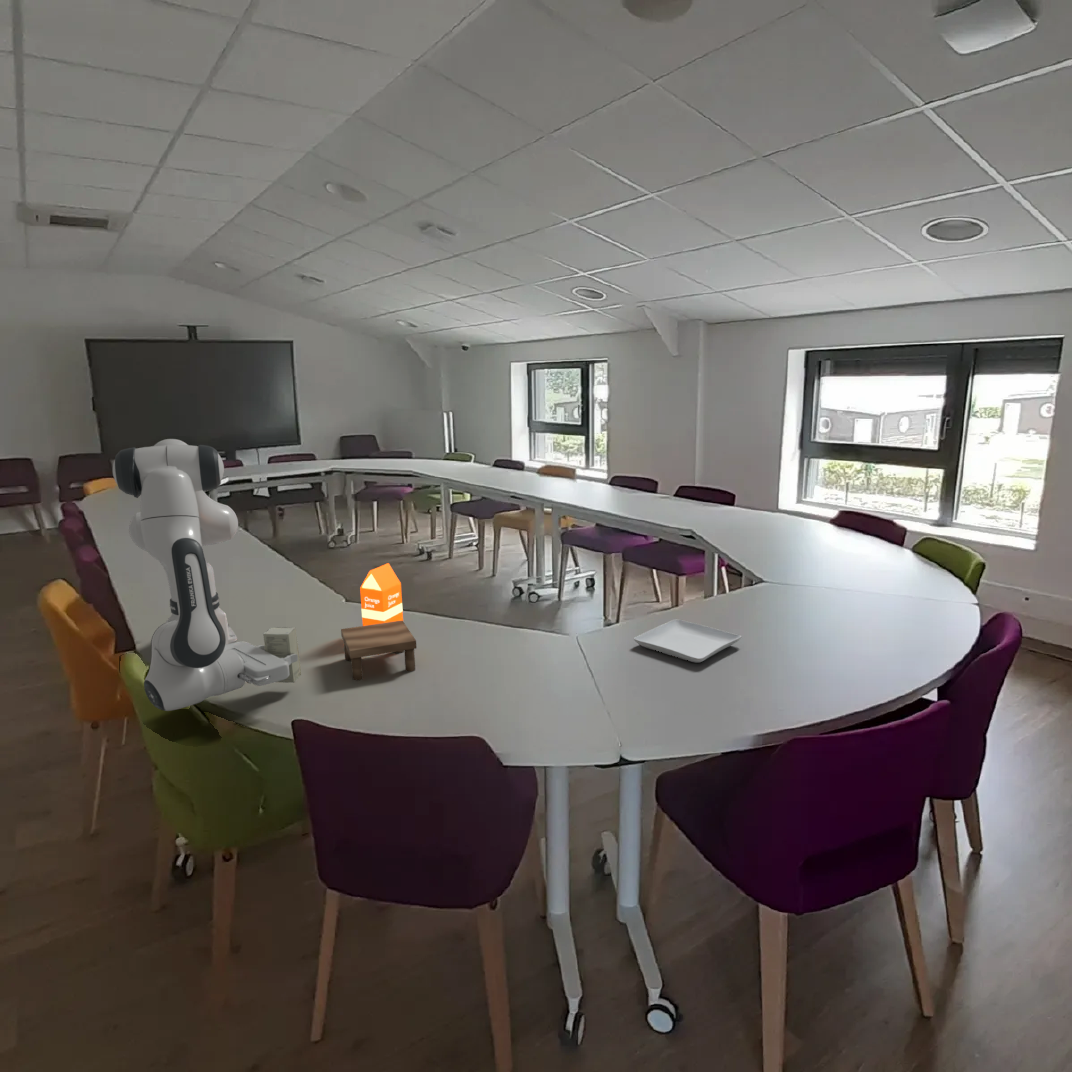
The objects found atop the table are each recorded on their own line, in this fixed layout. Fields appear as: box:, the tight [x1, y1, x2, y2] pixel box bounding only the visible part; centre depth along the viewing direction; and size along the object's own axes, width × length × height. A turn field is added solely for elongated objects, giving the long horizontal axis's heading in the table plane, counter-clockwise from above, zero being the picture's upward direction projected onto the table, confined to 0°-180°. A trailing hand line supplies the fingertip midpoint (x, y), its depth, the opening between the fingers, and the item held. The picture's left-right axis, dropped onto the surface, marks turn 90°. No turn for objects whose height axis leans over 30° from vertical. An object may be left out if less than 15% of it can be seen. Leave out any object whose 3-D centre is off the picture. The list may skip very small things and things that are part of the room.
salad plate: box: [633, 618, 742, 664], centre depth 189 cm, size 21×21×3 cm
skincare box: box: [262, 626, 302, 684], centre depth 164 cm, size 6×4×12 cm
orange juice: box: [359, 562, 404, 626], centre depth 199 cm, size 8×9×20 cm
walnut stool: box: [340, 620, 417, 682], centre depth 179 cm, size 16×16×8 cm
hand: (285, 651), depth 164 cm, fingers closed on skincare box, 7 cm apart
